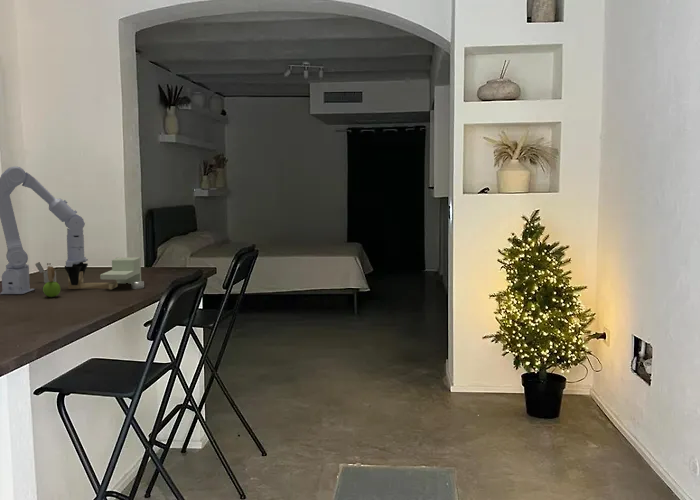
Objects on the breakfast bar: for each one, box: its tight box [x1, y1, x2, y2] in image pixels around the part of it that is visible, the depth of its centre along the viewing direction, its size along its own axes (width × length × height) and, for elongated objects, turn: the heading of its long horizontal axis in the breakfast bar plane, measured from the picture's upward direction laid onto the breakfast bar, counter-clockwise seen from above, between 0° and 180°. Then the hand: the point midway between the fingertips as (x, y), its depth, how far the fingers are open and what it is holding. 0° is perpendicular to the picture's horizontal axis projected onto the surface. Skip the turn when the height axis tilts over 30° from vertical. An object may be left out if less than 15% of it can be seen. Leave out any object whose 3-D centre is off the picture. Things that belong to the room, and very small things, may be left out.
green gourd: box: [42, 262, 61, 298], centre depth 214 cm, size 5×6×12 cm
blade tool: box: [67, 271, 119, 290], centre depth 235 cm, size 7×16×6 cm, turn 93°
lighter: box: [34, 261, 57, 284], centre depth 248 cm, size 7×2×8 cm, turn 100°
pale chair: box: [99, 256, 142, 285], centre depth 238 cm, size 20×9×10 cm, turn 3°
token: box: [131, 280, 145, 290], centre depth 236 cm, size 4×4×2 cm
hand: (76, 283), depth 235 cm, fingers closed on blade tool, 4 cm apart
